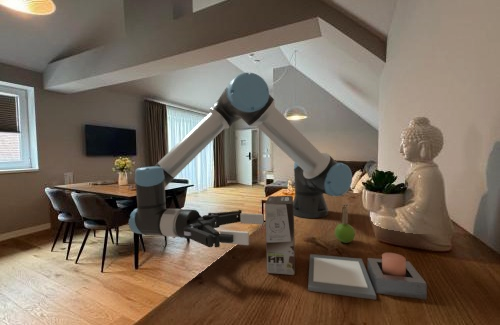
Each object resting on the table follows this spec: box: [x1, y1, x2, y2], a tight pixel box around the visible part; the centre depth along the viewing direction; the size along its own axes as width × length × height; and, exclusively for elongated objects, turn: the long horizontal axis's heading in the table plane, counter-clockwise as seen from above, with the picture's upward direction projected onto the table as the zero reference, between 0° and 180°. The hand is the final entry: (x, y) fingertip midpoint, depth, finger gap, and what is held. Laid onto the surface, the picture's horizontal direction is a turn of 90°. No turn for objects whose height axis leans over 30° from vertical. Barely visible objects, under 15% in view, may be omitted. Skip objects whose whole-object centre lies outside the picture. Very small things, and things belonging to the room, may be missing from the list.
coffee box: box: [264, 195, 296, 276], centre depth 54 cm, size 9×6×16 cm
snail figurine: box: [334, 204, 356, 244], centre depth 65 cm, size 5×6×12 cm
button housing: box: [366, 257, 428, 300], centre depth 45 cm, size 8×8×3 cm
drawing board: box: [307, 253, 377, 301], centre depth 49 cm, size 14×12×1 cm
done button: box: [381, 252, 407, 277], centre depth 45 cm, size 4×4×4 cm
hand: (256, 227), depth 56 cm, fingers open, 13 cm apart
